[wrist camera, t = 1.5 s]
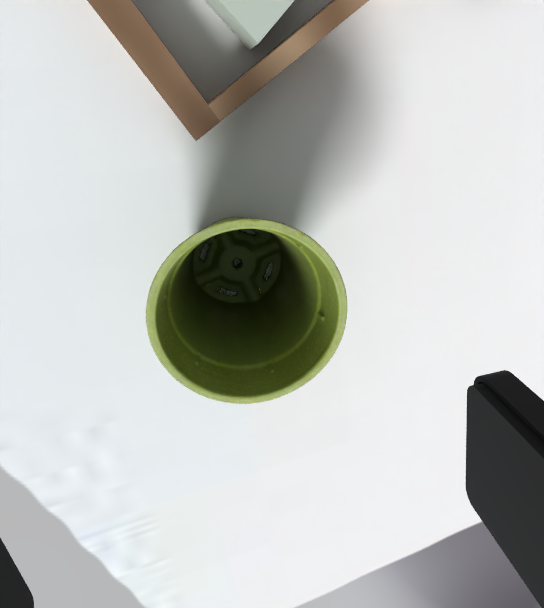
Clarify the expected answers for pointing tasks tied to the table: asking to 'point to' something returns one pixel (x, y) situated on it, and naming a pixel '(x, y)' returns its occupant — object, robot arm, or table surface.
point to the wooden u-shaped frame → (177, 86)
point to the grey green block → (249, 17)
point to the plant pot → (246, 311)
